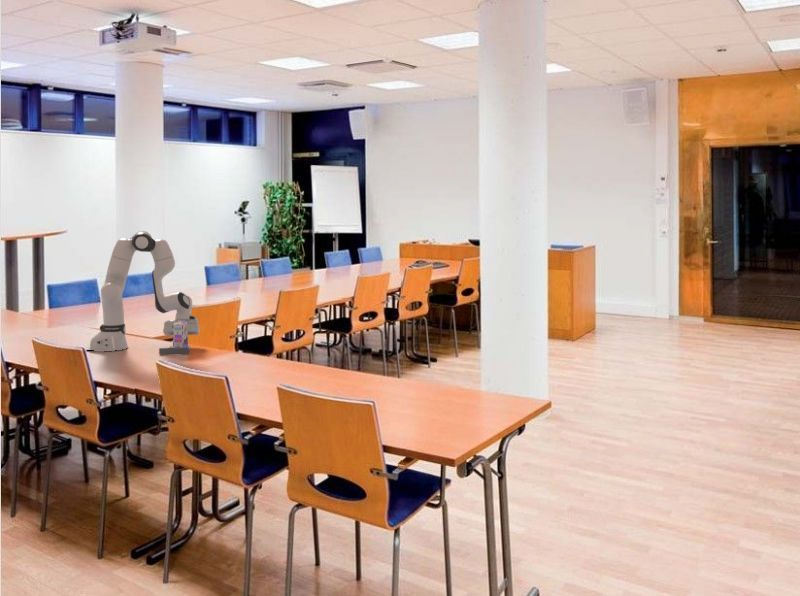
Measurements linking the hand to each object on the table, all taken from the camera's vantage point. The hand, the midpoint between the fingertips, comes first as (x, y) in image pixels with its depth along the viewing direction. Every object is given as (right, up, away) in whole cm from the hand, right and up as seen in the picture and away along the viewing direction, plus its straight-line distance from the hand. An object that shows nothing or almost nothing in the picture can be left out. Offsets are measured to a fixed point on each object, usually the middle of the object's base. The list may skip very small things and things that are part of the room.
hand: (180, 340), depth 424 cm
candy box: (+2, -6, -6) cm, 9 cm away
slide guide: (+1, -6, -7) cm, 9 cm away
